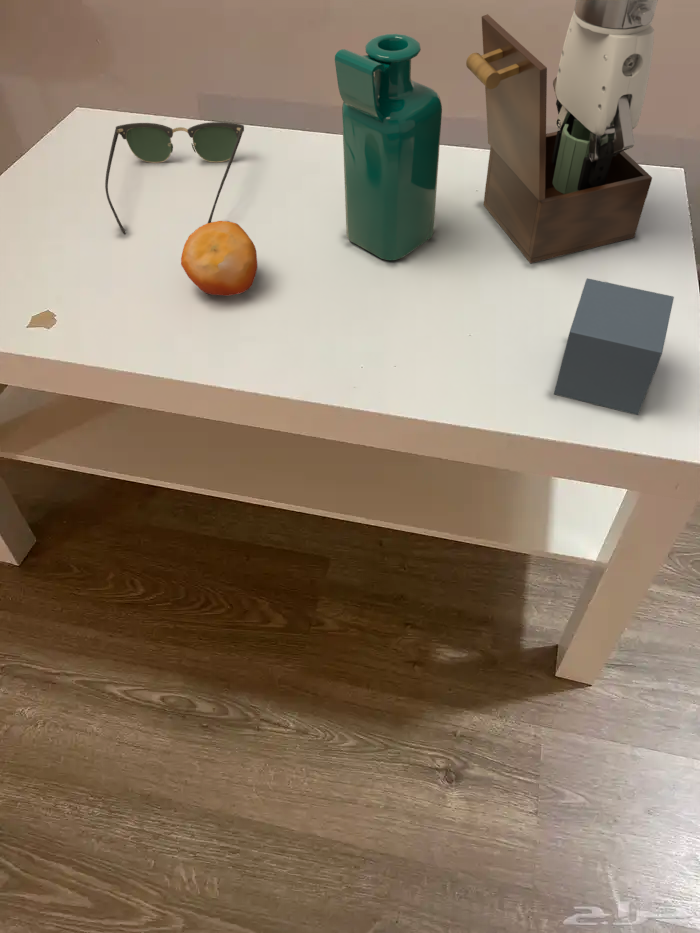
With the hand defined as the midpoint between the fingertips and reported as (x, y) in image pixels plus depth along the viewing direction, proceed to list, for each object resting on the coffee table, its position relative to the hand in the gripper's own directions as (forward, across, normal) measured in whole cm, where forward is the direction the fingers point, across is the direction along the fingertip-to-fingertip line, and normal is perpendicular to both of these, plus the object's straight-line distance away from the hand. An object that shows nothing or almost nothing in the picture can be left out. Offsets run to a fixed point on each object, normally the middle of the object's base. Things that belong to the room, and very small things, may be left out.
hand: (577, 173), depth 89 cm
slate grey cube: (+6, -25, +10) cm, 27 cm away
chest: (+6, 0, +2) cm, 6 cm away
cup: (+1, 0, 0) cm, 1 cm away
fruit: (+6, +2, +41) cm, 42 cm away
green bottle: (+6, +4, +22) cm, 23 cm away
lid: (-9, 0, +9) cm, 13 cm away
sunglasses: (+6, +22, +43) cm, 49 cm away
